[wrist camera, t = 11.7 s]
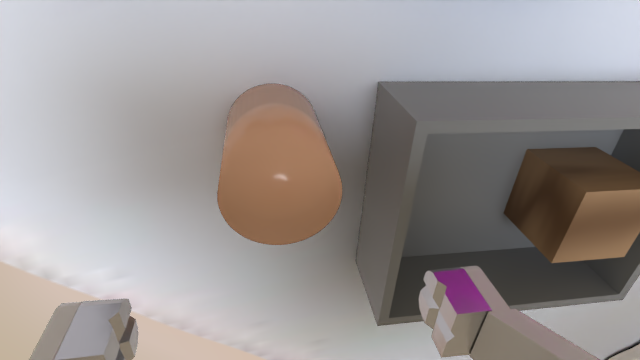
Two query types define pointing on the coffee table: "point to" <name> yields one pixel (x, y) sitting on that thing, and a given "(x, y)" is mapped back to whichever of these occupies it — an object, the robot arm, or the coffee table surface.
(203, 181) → the coffee table surface
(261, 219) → the terracotta canister
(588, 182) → the walnut cube
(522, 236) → the box
